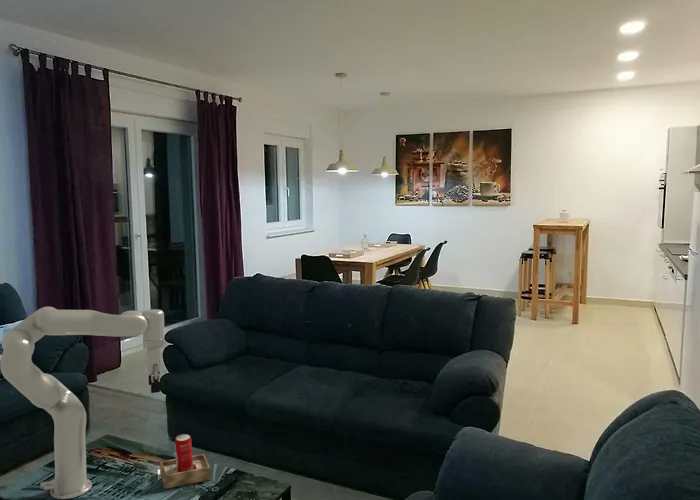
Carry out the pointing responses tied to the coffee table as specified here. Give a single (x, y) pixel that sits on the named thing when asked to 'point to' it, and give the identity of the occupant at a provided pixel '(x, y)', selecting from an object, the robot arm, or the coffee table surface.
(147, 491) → the coffee table surface
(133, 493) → the coffee table surface
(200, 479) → the wooden box
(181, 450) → the beverage can
